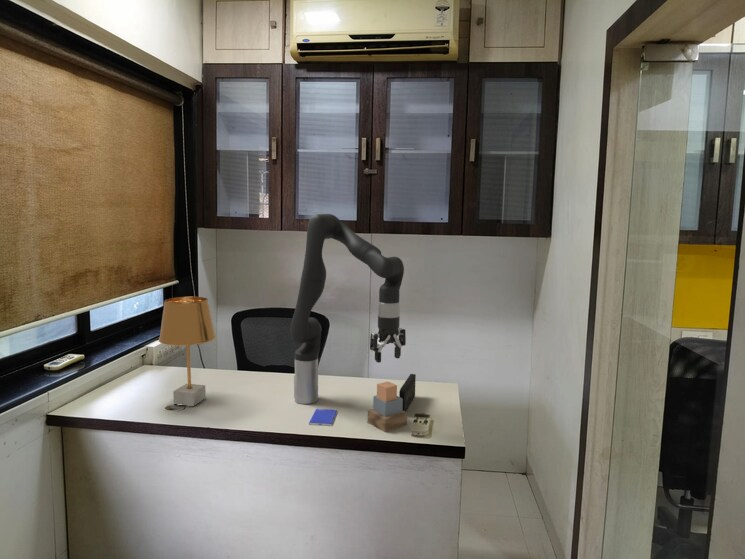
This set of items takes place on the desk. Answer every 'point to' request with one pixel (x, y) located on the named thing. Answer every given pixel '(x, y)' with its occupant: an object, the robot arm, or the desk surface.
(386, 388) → the terracotta cube
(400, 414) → the walnut base block
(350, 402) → the desk surface
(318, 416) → the hard drive
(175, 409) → the desk surface
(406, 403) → the nameplate
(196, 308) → the lamp
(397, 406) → the slate middle block
